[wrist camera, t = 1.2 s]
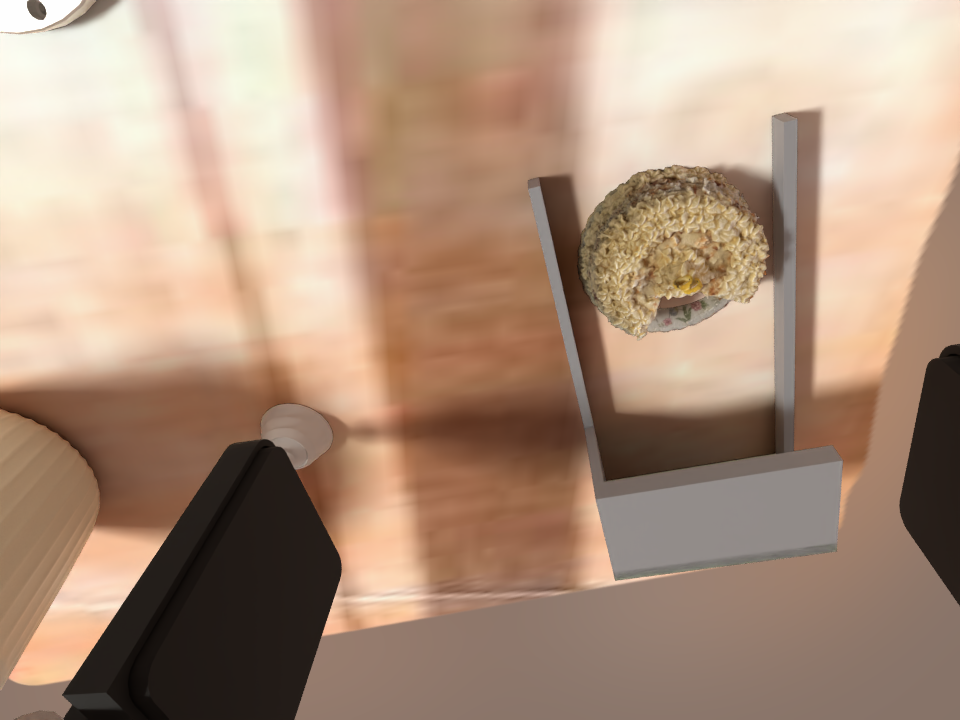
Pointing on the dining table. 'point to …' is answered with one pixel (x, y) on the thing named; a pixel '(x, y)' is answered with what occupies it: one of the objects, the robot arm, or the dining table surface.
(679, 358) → the dining table surface
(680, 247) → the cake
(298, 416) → the chalice
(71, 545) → the canister
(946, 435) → the robot arm
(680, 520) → the low barrier
